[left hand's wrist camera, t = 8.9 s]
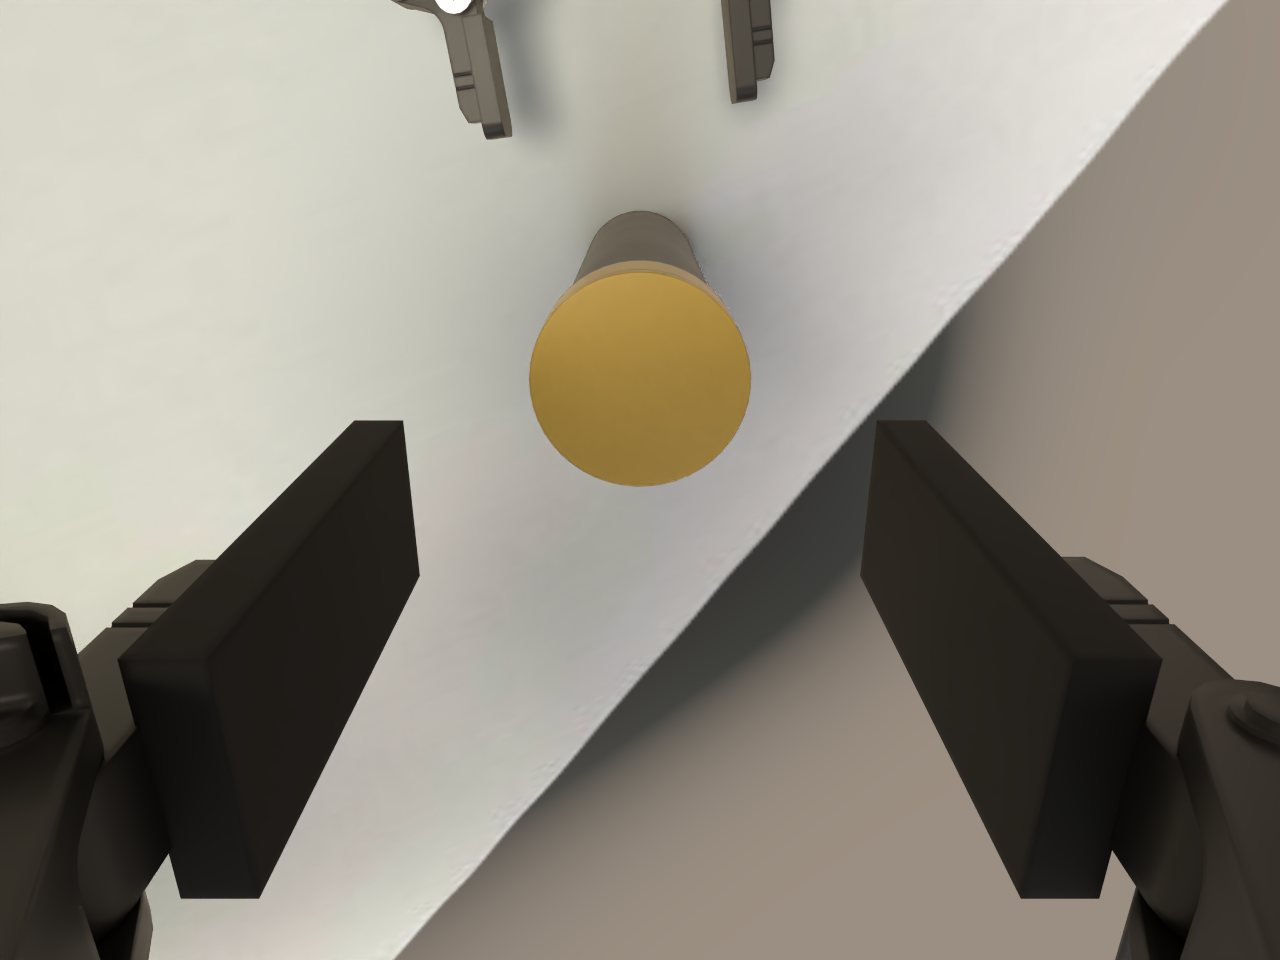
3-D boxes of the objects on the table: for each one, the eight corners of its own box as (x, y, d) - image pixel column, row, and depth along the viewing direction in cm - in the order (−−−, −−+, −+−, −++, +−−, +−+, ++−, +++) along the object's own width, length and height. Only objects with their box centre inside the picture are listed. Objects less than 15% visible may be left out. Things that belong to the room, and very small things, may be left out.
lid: (569, 231, 21) (563, 241, 19) (772, 297, 21) (783, 312, 20) (515, 427, 23) (504, 452, 21) (703, 482, 23) (708, 511, 21)
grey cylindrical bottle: (604, 196, 37) (572, 252, 19) (707, 230, 38) (767, 315, 20) (574, 301, 39) (519, 439, 21) (673, 332, 39) (700, 493, 22)
